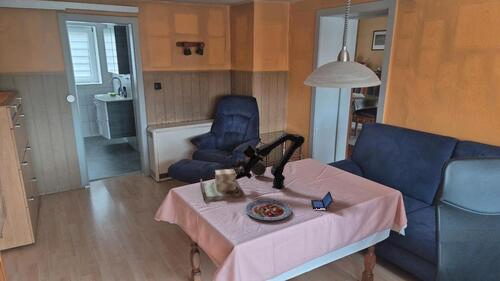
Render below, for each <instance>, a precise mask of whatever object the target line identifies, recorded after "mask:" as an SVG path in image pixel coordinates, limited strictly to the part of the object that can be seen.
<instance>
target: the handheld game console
mask: <svg viewBox="0 0 500 281" xmlns="http://www.w3.org/2000/svg"><path fill="white" fill-rule="evenodd" d="M310 201H311V207H312V210H313V209H316V208H317V209H320V208H325V209H326V210H327V209H328V207H329V206H330V205H331V204H332V203H333V195H332V194H331V192H330V191H328V192H327V193H326V194H325V195H324V197H323V198H322V199H311V200H310Z"/></svg>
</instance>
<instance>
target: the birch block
mask: <svg viewBox="0 0 500 281" xmlns="http://www.w3.org/2000/svg"><path fill="white" fill-rule="evenodd" d="M236 175H237V173H236V171H235V169H234V168H229V169H226V168H225V169H214V177H215V179H214V180H215V181H214V182H215V187H216V190H217V191H225V190H236V181H237V180H236Z"/></svg>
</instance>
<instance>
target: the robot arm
mask: <svg viewBox="0 0 500 281" xmlns="http://www.w3.org/2000/svg"><path fill="white" fill-rule="evenodd" d="M287 141H290V144H289V146H288V148H287V149H286V151H284V152H285V153H284V154H283V155H282V157H281V158H280V160H279V162H277V163H275V162H274V163H273V165H272V167H270V174H271V175H272V176H273V180H272V186H271V188H273V189H278V190H282V189H283V188H285V187H286V186H285V179H286V177H285V175H283V173H284V170H285V167H286V165H287V163H288V162H289V161H290V160H291V158H292V156H293V155H294V153H295V152H296V150H297V149H298V148H301V146H302V145H303V144H304V143H305V137H304V136H303V135H302V134H299V133H296V134H294V133H289V132H284V133H283V134H282V135H280V136H279V137H276V139H273V140H272V141H271V142H269V143H266V144H262V145H260V146H259V147H255V148H253V147H252V146H251V144H247V145H245V146H243V148H242V149H241V151H240V152H241V153H242V155H244V156H245V157H246V158H247V159H246V160H245V159H242V158H239V157H237V159H236V160H235V163H236V165H237V166H239V167H238V168H237V169H238V171H237V173H236V181H238V180H239V179H242V178H248V179H249V180H251V179H252V177H253V176H252V175H253V174H251V173H252V172H251V169H252V168H255V167H254V166H255V165H256V164H257V163H258V162H259V161H260V160H261V161H262V162H264V158H266V157H267V156H268V155H269V154H270V153H271V152H272V151H273V150H274V149H276V148H277V147H279V146H280V145H282V144H284V143H285V142H287ZM259 155H260V156H259Z"/></svg>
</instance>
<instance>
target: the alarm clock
mask: <svg viewBox="0 0 500 281" xmlns="http://www.w3.org/2000/svg"><path fill="white" fill-rule="evenodd" d="M259 156H260V155H259ZM260 157H261V156H260ZM254 167H255V168H252V169H251V170H250V172H251V173H252V175H253V176H254V175H255V176H257V178H259V177H261V176H265V173H266V172H267V164H266V162H264V161H263V162H262V161H261V160H260V161H259V162H258V163H257V164H256V165H255V166H254Z"/></svg>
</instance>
